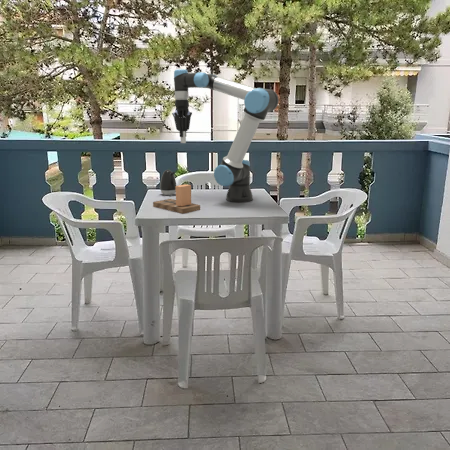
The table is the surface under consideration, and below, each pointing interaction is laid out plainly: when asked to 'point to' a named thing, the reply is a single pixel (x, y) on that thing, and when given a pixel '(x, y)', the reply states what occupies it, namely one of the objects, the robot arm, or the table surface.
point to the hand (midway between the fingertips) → (183, 142)
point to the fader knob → (183, 195)
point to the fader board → (175, 206)
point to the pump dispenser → (168, 183)
